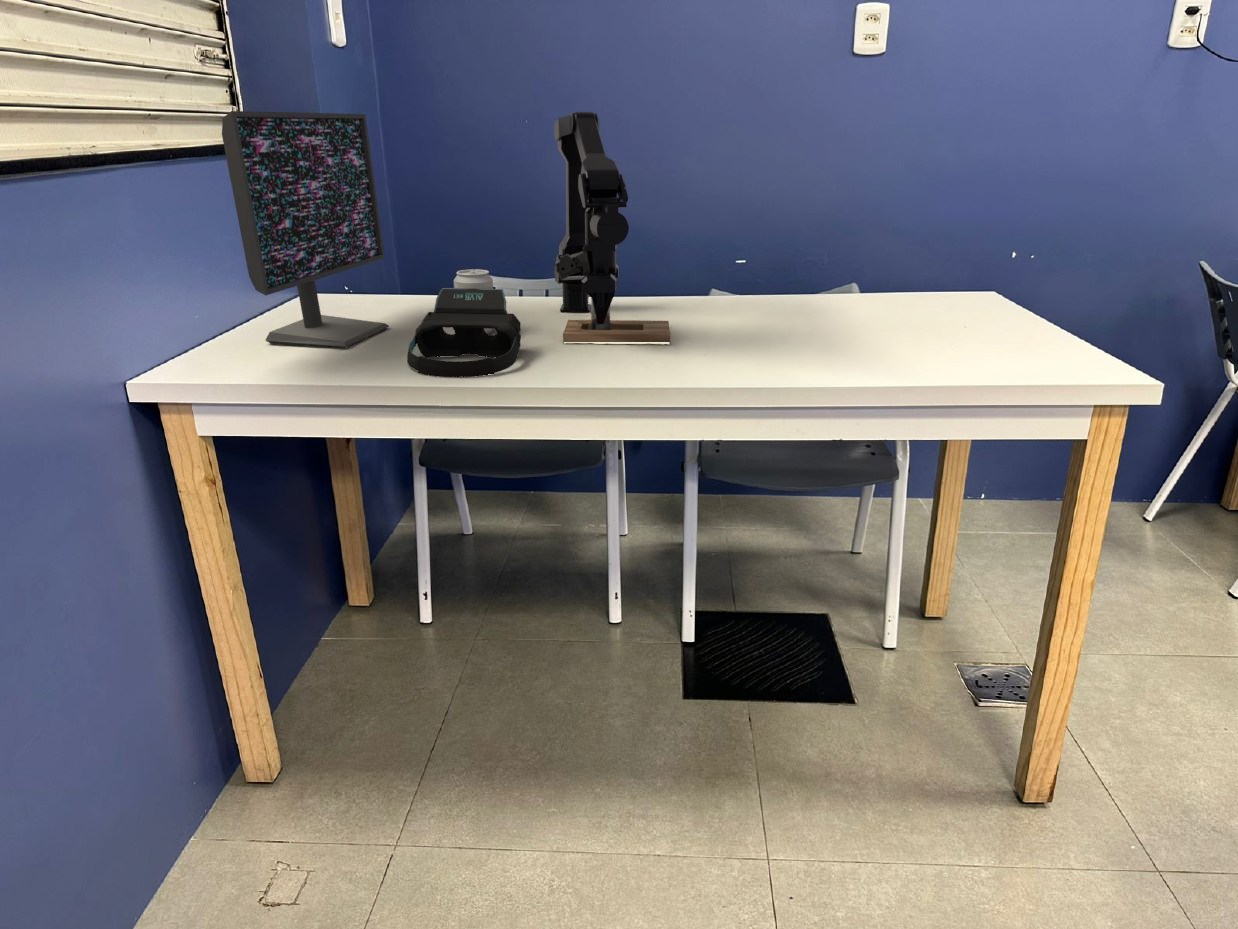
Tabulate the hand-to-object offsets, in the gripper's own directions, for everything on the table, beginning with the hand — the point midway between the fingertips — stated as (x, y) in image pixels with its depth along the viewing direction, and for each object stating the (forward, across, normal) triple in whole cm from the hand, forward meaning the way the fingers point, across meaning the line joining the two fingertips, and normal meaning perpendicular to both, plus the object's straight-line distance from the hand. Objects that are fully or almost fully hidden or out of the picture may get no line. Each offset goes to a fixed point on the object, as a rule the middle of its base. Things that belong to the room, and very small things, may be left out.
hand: (600, 321), depth 165 cm
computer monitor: (+3, +2, -52) cm, 52 cm away
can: (+3, -3, -25) cm, 25 cm away
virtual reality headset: (+4, +19, -23) cm, 30 cm away
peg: (+2, 0, 0) cm, 2 cm away
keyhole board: (+3, 0, +3) cm, 4 cm away
